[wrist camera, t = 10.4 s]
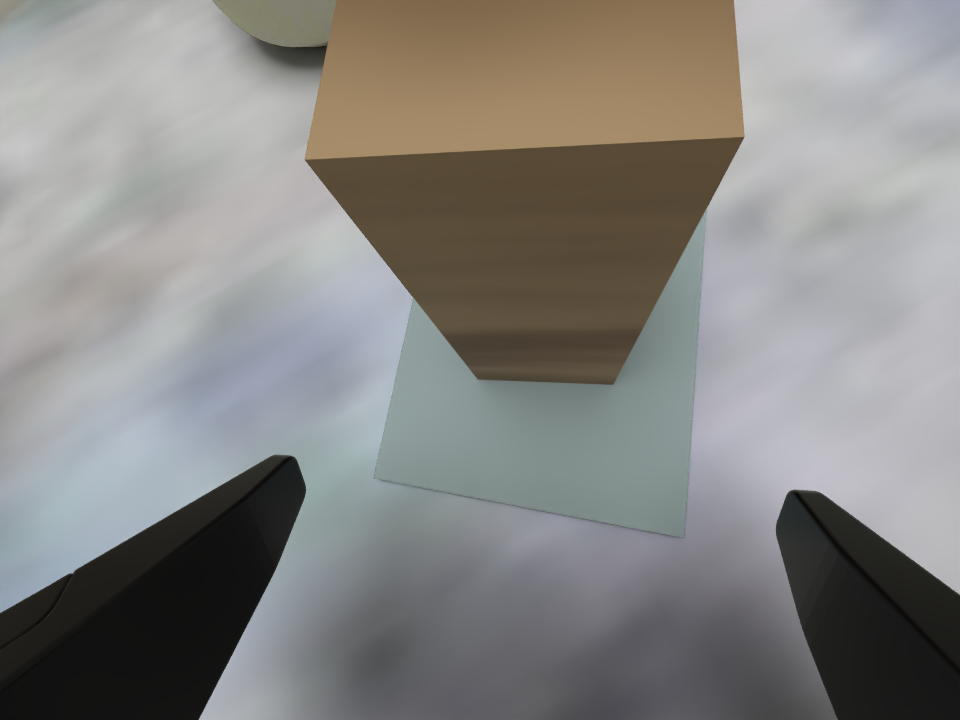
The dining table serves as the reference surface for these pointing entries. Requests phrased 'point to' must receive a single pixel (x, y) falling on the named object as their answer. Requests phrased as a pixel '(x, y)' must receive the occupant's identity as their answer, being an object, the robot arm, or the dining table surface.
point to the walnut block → (530, 163)
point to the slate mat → (556, 423)
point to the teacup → (283, 20)
